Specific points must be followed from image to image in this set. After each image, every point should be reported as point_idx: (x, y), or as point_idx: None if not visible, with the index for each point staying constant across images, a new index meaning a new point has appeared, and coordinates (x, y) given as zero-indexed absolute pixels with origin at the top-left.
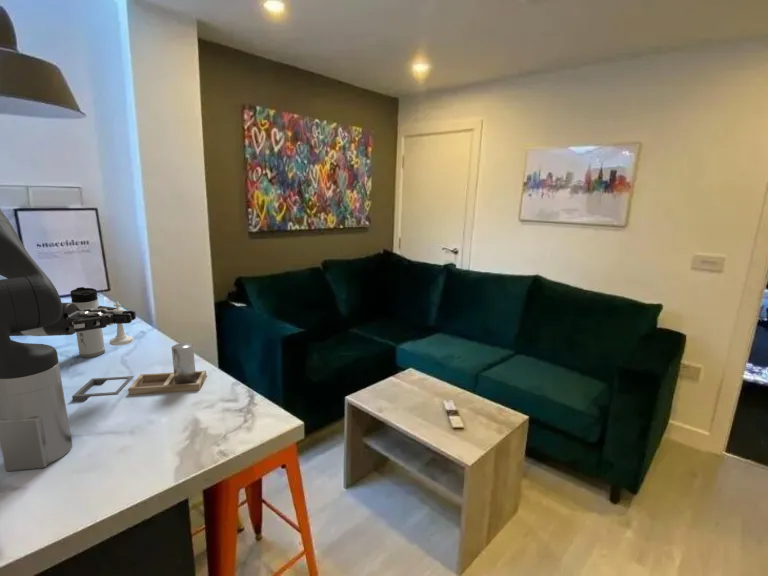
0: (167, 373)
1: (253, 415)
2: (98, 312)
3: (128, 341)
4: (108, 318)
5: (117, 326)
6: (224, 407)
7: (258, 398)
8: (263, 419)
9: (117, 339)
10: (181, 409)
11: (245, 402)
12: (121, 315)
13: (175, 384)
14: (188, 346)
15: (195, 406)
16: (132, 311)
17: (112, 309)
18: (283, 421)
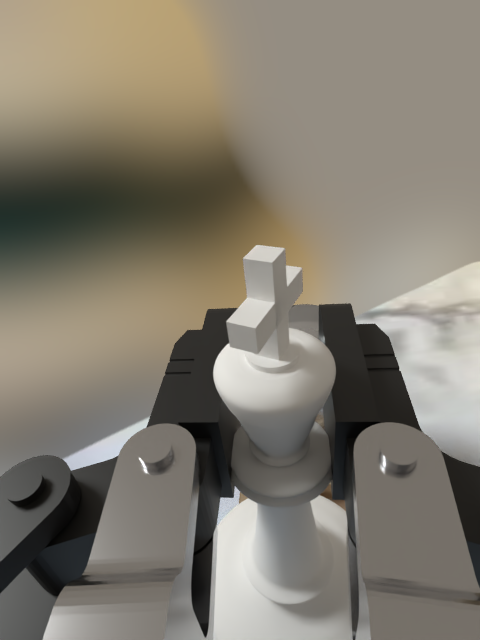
0: (245, 496)
1: (463, 303)
2: (423, 628)
3: (334, 503)
4: (458, 468)
5: (301, 516)
6: (434, 348)
7: (382, 304)
8: (476, 291)
9: (344, 577)
10: (463, 432)
11: (404, 319)
12: (359, 355)
13: None
14: (308, 312)
15: (438, 403)
16: (236, 309)
17: (40, 527)
18: (477, 270)
